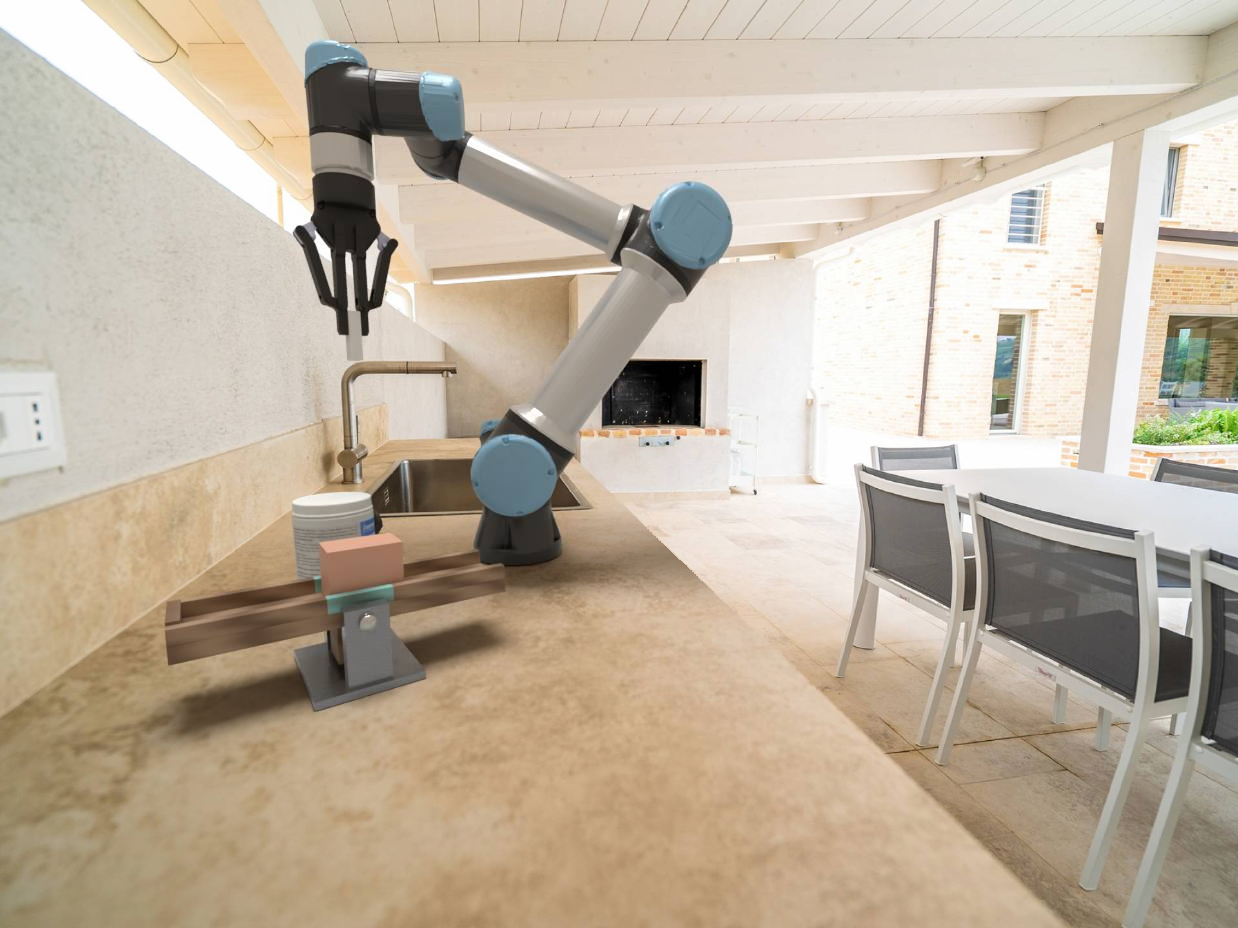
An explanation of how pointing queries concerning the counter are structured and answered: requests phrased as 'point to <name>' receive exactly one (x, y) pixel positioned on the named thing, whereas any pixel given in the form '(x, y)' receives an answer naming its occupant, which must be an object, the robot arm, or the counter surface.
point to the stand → (358, 658)
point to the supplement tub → (327, 525)
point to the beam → (316, 606)
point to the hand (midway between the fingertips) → (355, 360)
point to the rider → (360, 563)
